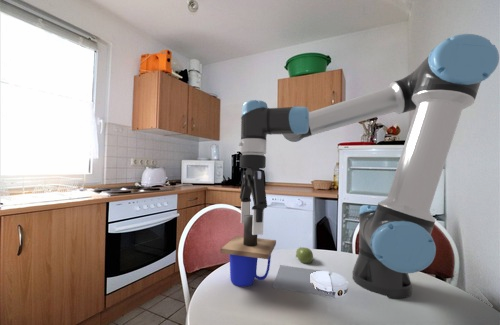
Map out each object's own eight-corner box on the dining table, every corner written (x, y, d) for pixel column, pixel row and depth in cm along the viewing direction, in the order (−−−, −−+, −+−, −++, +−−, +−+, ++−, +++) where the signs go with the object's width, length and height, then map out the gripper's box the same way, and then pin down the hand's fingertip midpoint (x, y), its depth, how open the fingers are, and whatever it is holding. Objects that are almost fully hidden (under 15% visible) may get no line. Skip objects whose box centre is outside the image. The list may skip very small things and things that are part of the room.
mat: (329, 273, 74) (329, 271, 74) (334, 299, 58) (334, 297, 59) (280, 266, 78) (280, 265, 78) (272, 289, 63) (272, 287, 63)
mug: (268, 294, 60) (269, 255, 61) (224, 287, 63) (225, 250, 63) (271, 279, 68) (272, 245, 69) (232, 274, 71) (233, 242, 71)
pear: (299, 249, 80) (293, 244, 90) (299, 265, 79) (293, 259, 89) (315, 249, 80) (307, 245, 90) (315, 265, 79) (307, 259, 89)
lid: (275, 244, 70) (276, 214, 71) (268, 259, 58) (269, 222, 58) (235, 239, 74) (236, 210, 74) (220, 253, 61) (221, 218, 62)
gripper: (232, 156, 78) (230, 219, 77) (252, 150, 54) (249, 241, 53) (253, 157, 80) (251, 218, 79) (281, 152, 56) (279, 240, 55)
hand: (250, 228), depth 66 cm, fingers open, 13 cm apart
